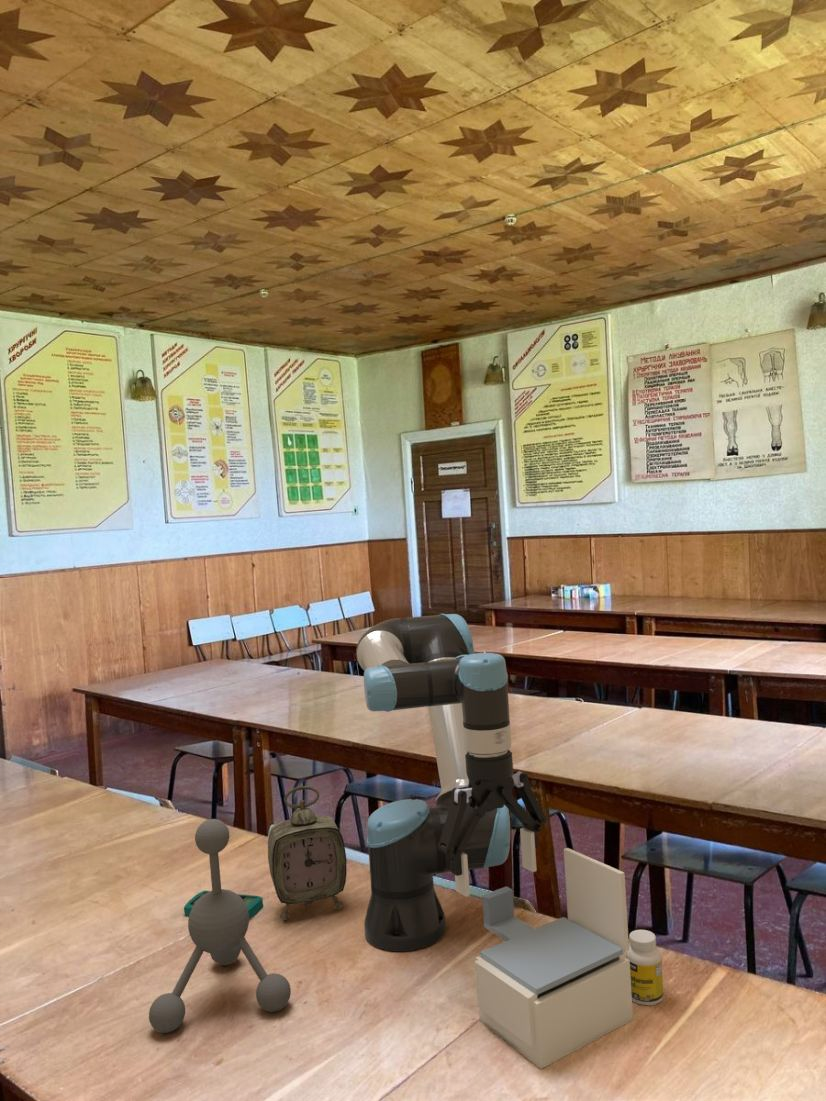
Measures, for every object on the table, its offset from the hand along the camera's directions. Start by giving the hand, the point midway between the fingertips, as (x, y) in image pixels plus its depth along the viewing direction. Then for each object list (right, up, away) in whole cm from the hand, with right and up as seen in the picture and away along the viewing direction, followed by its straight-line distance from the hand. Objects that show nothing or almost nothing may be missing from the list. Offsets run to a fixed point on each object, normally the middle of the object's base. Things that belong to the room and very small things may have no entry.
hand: (497, 881), depth 139 cm
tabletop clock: (-34, -18, +33) cm, 51 cm away
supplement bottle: (+23, -16, -5) cm, 28 cm away
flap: (+5, -7, -7) cm, 12 cm away
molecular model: (-46, -21, +1) cm, 51 cm away
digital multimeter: (-52, -20, +34) cm, 65 cm away
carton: (+8, -17, -9) cm, 21 cm away
